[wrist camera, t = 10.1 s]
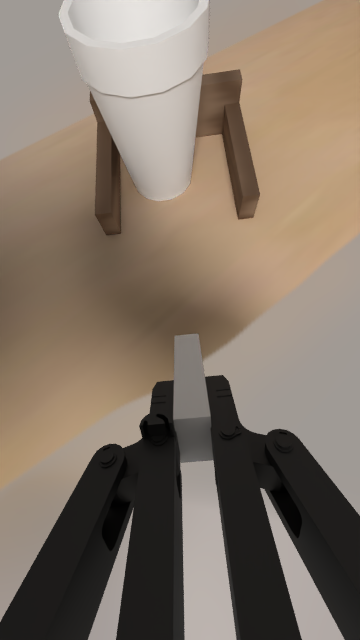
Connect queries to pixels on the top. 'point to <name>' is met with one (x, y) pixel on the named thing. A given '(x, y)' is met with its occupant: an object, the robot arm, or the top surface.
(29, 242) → the top surface
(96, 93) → the foam cup
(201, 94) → the corral
